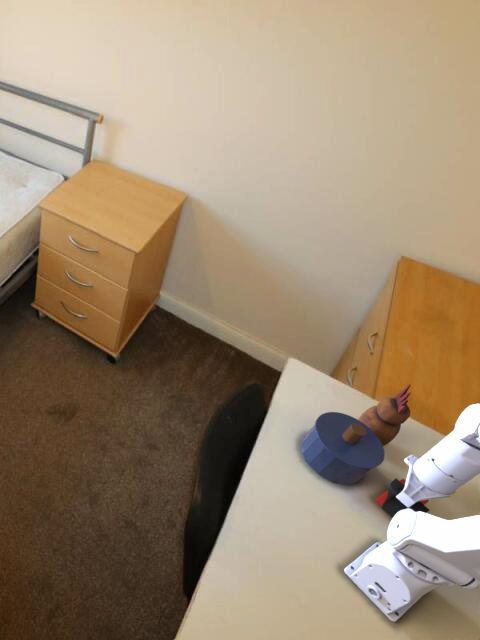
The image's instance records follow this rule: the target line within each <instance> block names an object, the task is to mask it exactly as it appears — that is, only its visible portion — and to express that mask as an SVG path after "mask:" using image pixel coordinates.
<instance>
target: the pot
mask: <svg viewBox="0 0 480 640" xmlns="http://www.w3.org/2000/svg"><path fill="white" fill-rule="evenodd" d="M300 451H301V454H302V457H303V459H304V461H305V462H306V464H307V465H308V466H309V467H310V468H311V469H312V471H314V472H315V473H316V474H317V475H319V476H320V477H322V478H323V479H325V480H327V481H329V482H331V483H334V484H337V485H343V486H344V485H345V486H347V485H348V486H350V485H353V484H355V483H357V482H358V481H359V480H361V479H362V478H363V477H364V476H365V475H367V474H368V473H369V472H370V471H371V470H372V469H359V468H355V467H352V466H349V465H347V464H345V463H343V462H341V461H339V460H338V459H336V458H335V457H334V456H332V455H331V454H330V453H329V452H328V451H327V450H326V449H325V448H324V447H323V446H322V444H321V443H320V441H319V440H318V438H317V436H316V433H315V424H314V425H313V426H312V427H311V428H310V430H309V431H307V433H306V434H305V435H304V436H303V438H302V440H301V442H300Z"/></svg>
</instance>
